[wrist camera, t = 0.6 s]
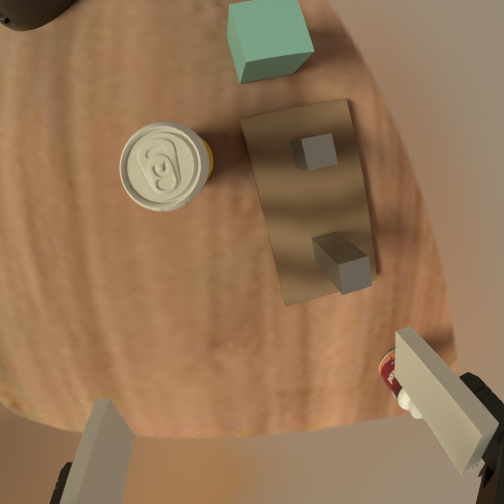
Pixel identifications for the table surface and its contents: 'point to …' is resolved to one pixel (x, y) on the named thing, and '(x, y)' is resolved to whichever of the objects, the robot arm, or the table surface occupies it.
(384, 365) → the pill bottle
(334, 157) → the short post
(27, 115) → the table surface
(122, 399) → the table surface
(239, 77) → the mint green toy brick
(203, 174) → the beer can
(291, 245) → the board
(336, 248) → the tall post
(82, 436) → the robot arm
